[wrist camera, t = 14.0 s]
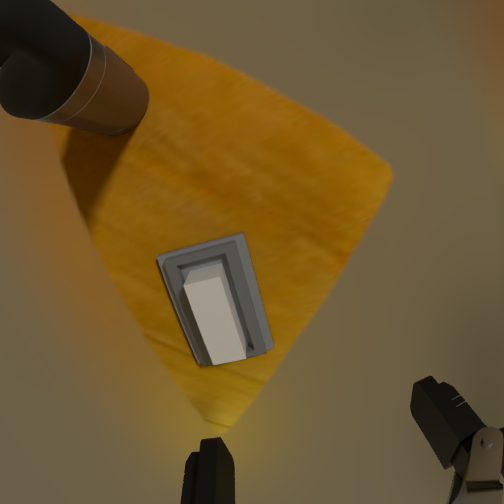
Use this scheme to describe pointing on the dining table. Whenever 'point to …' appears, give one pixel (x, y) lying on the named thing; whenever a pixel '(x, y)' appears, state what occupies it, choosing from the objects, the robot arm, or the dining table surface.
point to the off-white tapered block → (216, 314)
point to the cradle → (240, 283)
